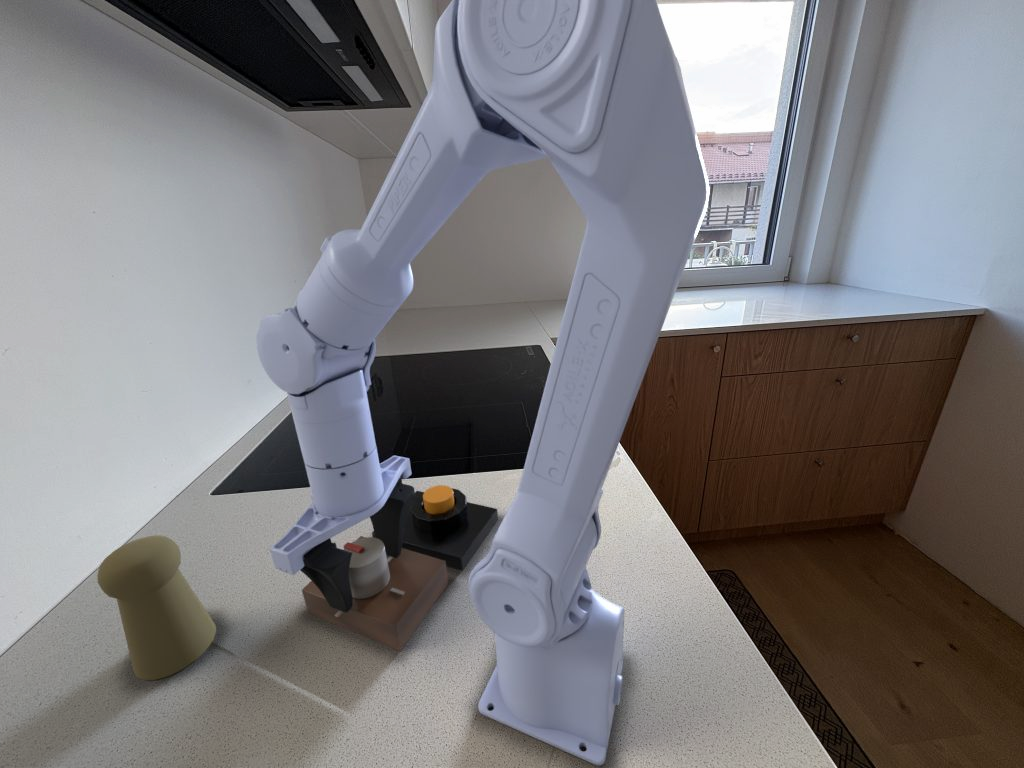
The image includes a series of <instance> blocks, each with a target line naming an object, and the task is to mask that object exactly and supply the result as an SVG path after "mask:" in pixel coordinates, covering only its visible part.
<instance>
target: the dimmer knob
mask: <svg viewBox="0 0 1024 768" xmlns="http://www.w3.org/2000/svg"><path fill="white" fill-rule="evenodd" d="M365 537H366V536H365ZM357 539H358V538H357ZM357 539H356V540H354V541H352V542H349V541H348V542H346V543H345V544H344V545H343V549H342V550H345V551H348V552H351V553H352V556H351V560H350V567H349V581H350V587H351V592H352V597H354V598H358V599H364V598H369V597H372V596H374V595H376V594H378V593H379V592H381V591H382V590H383V589H384V588H385V587H386V586H387V584H388V582H389V580H390V572H389V567H388V561H387V556H386V551H385V546H384V543H383V542H382V541H381V540H380V539H378V538H374V537H373V536H367V537H366V538H361V539H358V540H357Z"/></svg>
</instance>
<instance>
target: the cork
mask: <svg viewBox="0 0 1024 768" xmlns="http://www.w3.org/2000/svg"><path fill="white" fill-rule="evenodd" d="M181 556H182V555H181V549H180V547H179V545H178V544H177V543H176V542H175V540H173V539H172V538H169V537H167V536H166V535H160V534H159V535H147V536H145V537H139V538H137V539H135V540H131V541H129V542H127V543H125V544H123V545H121V546H120V547H118V548H117V549H115V550H114V551H112V552H111V553H110V554H108V555H107V556H106V557H105V558H104V559H103V561H102V562H101V563H100V565H99V568H98V571H97V577H96V578H97V584H98V585H99V588H100V589H101V590H102V592H103V594H105V595H106V596H107V597H109V598H112V599H116V602H117V606H118V610H119V616H120V620H121V623H122V628H123V632H124V636H125V640H126V646H127V649H128V652H129V657H130V662H131V667H132V669H133V670H132V671H133V673H134V675H135V676H136V677H137V678H138V679H141V680H143V681H157V680H160V679H163V678H167V677H169V676H172V675H174V674H176V673H178V672H180V671H181V670H183V669H186V668H187V667H188V666H189V665H191V664H192V663H194V662H195V661H197V660H198V659H199V658H200V657H201V656H202V655H203V654H204V653H205V652H206V651H207V650H208V648H209V647H210V646H211V644H212V642H213V641H214V639H215V637H216V634H217V626H216V625H217V624H216V623H215V622H214V620H213V619H212V617H211V616H210V613H208V611H207V609H206V608H205V606H204V605H203V603H202V602H201V601H200V599H199V598H198V596H197V594H196V593H195V592H194V590H193V589H192V587H191V585H190V584H189V582H188V581H187V579H186V578H185V576H184V575H183V573H182V572H181V570H180V565H181V563H182V560H181V559H182V557H181Z"/></svg>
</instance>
